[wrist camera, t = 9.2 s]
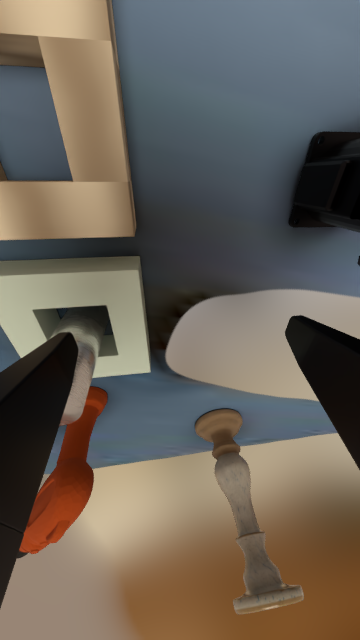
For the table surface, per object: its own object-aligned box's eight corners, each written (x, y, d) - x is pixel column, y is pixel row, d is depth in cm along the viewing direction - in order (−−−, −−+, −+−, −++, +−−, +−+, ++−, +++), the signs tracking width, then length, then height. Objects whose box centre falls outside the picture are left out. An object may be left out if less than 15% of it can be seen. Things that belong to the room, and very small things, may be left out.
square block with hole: (139, 255, 19) (138, 269, 16) (150, 350, 26) (150, 372, 23) (-1, 260, 18) (-30, 277, 15) (49, 359, 25) (36, 383, 22)
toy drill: (24, 453, 33) (-42, 608, 20) (83, 376, 28) (46, 518, 16) (55, 458, 35) (13, 601, 23) (115, 388, 31) (104, 520, 18)
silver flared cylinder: (104, 296, 21) (72, 386, 12) (112, 327, 23) (89, 422, 14) (63, 298, 20) (-3, 393, 11) (75, 329, 23) (27, 429, 14)
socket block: (109, -24, 11) (94, -96, 8) (136, 226, 18) (134, 236, 15) (-162, -52, 9) (-296, -151, 7) (-17, 230, 16) (-52, 241, 13)
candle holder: (241, 403, 36) (320, 598, 19) (240, 428, 41) (302, 598, 24) (192, 414, 36) (230, 618, 19) (197, 437, 41) (230, 614, 24)
